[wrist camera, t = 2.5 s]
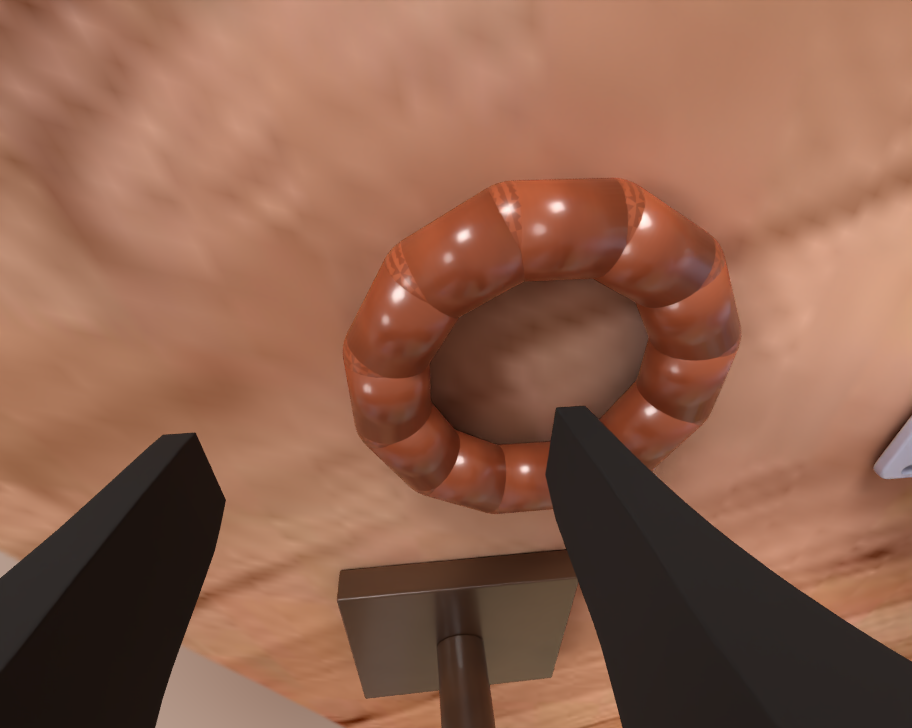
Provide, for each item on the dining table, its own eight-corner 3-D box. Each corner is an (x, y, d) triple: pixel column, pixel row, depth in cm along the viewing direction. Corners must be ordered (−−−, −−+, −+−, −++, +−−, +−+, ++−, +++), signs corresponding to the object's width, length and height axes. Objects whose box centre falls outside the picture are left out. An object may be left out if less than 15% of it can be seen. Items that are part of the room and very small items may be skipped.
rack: (571, 548, 19) (627, 721, 14) (545, 651, 24) (580, 801, 19) (339, 569, 18) (319, 758, 13) (366, 671, 23) (358, 831, 18)
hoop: (765, 162, 10) (833, 188, 9) (656, 462, 16) (686, 511, 14) (321, 174, 10) (306, 204, 8) (371, 484, 15) (368, 539, 14)
